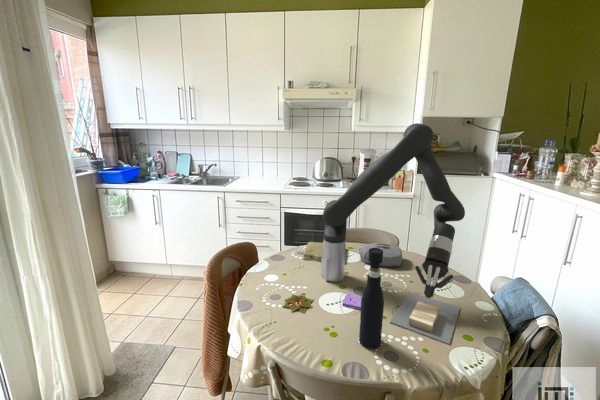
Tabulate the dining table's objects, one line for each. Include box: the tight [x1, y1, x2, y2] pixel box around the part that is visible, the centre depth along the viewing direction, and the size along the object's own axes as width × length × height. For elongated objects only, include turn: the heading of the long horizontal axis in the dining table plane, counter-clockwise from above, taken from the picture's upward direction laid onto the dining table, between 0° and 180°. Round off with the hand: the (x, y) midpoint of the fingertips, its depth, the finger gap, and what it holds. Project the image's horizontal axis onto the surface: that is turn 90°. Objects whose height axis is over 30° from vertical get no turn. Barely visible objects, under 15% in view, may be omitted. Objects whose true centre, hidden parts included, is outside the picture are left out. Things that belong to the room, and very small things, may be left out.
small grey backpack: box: [358, 242, 403, 268], centre depth 144 cm, size 15×8×20 cm
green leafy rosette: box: [282, 292, 314, 314], centre depth 110 cm, size 12×12×5 cm
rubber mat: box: [389, 291, 461, 346], centre depth 104 cm, size 22×18×1 cm
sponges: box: [341, 292, 362, 311], centre depth 110 cm, size 7×13×2 cm, turn 68°
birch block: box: [409, 300, 440, 332], centre depth 101 cm, size 3×7×12 cm
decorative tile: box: [302, 241, 347, 263], centre depth 151 cm, size 19×20×4 cm
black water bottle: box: [358, 248, 385, 350], centre depth 88 cm, size 6×6×30 cm
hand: (428, 297), depth 101 cm, fingers closed
